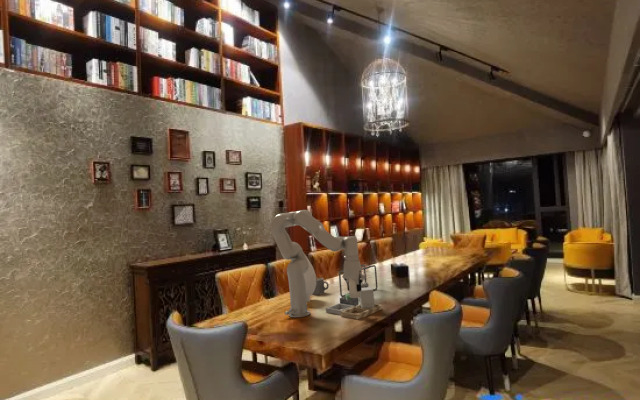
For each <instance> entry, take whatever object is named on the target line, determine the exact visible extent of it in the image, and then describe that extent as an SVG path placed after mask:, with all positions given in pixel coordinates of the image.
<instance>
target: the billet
mask: <svg viewBox="0 0 640 400" xmlns="http://www.w3.org/2000/svg"><path fill="white" fill-rule="evenodd" d="M348 281H349V292H348V293H350V298H358V299H360V297H361V296H360V291H359V292H357V282H356V280H353V279H351V278H349V279H348Z"/></svg>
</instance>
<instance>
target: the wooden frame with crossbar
mask: <svg viewBox="0 0 640 400" xmlns="http://www.w3.org/2000/svg"><path fill="white" fill-rule="evenodd" d="M374 306H375V307H374V308H371V309H365V308H361V306H360V304H359V305H357V306H355V307H352V308H350V309H347V310H344V311H342V312H341V315H340V317H341V318H349V319H353V320H361V319H362V318H365V317H367V316H370V315H372V314H374V313H376V312H379V311H381V310H383V305H382V304H378V303H374Z"/></svg>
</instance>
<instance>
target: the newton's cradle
mask: <svg viewBox="0 0 640 400" xmlns="http://www.w3.org/2000/svg"><path fill="white" fill-rule="evenodd" d="M371 268H374V279H375V281H374V282H375V288H372V289H373V292H375V291H377V290H378V276H377V274H378V273H377V266H376V265H374V264H373V265H372V264H371V265H369V264H367V265H366V264H365V263H364V264H361V269H362V274H363V276H364V277H365V279H364V280H363V281H364V282H362V284H361V288H367V287H370V286H369V285H370V284H369V283H368V282H367V275H368V274H367V270H368V269H371ZM341 273H344V269H341V270H339V272H338V280H339V281H338V282H339V284H338V285H339V294H340V296H341V297H340V298H342V297H345V295H346V294H350V293H349V292H348V293H345V294H343V290H342V277H341Z"/></svg>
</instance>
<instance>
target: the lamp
mask: <svg viewBox="0 0 640 400" xmlns="http://www.w3.org/2000/svg"><path fill="white" fill-rule="evenodd" d="M304 255H305V257H306V259H307V261H308V264H309V268H308V270H307V272H305V273H304V279H305V285H306V299H307V302H310V301H311V300H312V299H311V296H312V293H313V292H314V290H315V287H316V278H317V275H316V272H315V269H314V266H313V265H312V263H311V261H310V260H309V258H308V256H307V255H306V254H305V253H304Z"/></svg>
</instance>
